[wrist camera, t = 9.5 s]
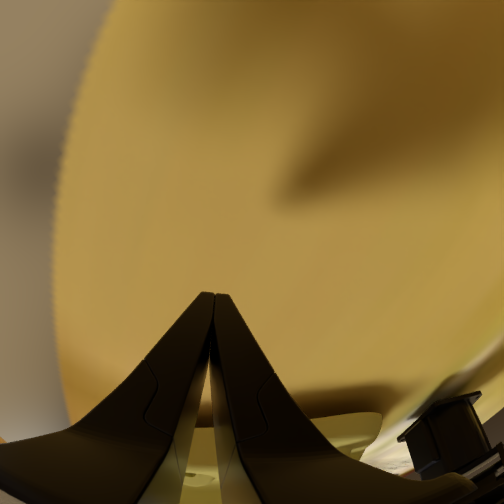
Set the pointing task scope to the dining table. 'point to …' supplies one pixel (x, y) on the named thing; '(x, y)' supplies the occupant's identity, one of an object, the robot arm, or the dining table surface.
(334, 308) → the dining table surface
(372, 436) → the plastic component
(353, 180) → the dining table surface
